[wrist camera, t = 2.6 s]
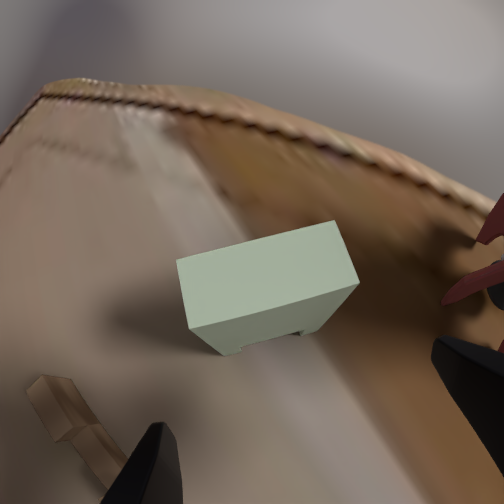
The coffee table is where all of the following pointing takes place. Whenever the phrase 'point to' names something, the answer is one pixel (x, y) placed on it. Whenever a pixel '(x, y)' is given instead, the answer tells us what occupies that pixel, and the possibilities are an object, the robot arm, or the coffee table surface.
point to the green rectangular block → (266, 287)
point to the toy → (492, 277)
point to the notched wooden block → (76, 426)
